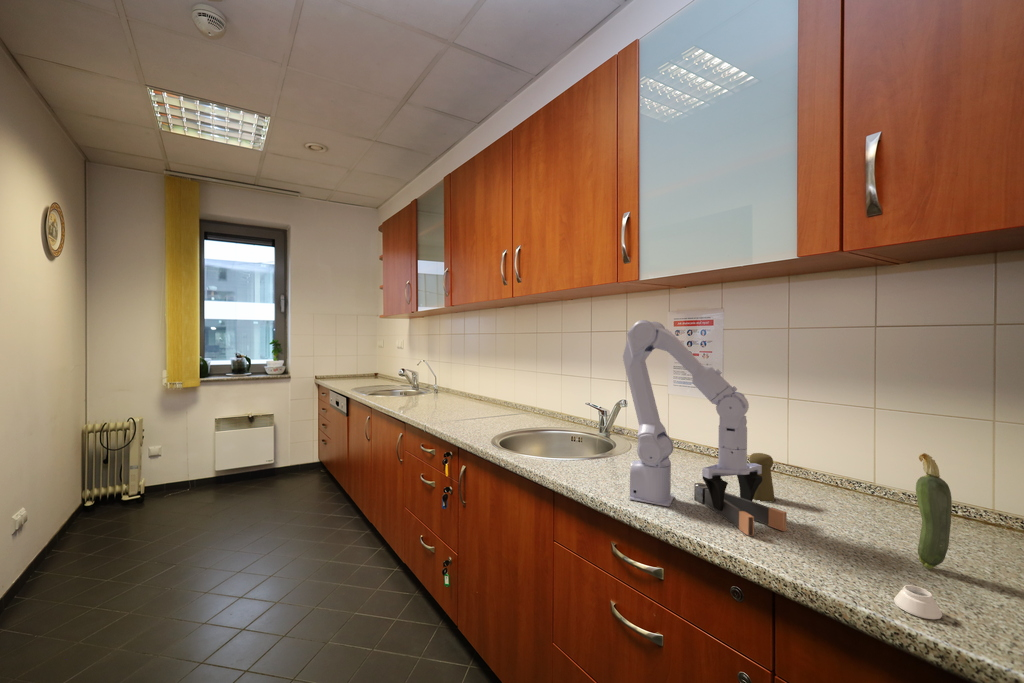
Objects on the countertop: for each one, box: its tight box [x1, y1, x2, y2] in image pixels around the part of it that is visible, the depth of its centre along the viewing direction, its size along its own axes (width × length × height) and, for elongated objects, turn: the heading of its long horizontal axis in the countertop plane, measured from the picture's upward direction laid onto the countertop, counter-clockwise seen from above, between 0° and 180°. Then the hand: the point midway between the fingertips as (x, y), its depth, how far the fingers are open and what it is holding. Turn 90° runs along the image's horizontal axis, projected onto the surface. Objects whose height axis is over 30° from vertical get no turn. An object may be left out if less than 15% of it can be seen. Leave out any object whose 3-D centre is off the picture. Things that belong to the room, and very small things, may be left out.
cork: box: [748, 452, 775, 502], centre depth 109 cm, size 6×6×11 cm
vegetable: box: [915, 452, 953, 570], centre depth 74 cm, size 4×4×20 cm
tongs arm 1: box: [704, 489, 755, 536], centre depth 95 cm, size 17×1×4 cm, turn 4°
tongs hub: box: [693, 482, 708, 505], centre depth 106 cm, size 4×3×4 cm
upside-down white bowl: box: [893, 584, 943, 620], centre depth 63 cm, size 5×3×5 cm
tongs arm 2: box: [724, 491, 788, 532], centre depth 97 cm, size 17×1×4 cm, turn 28°
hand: (732, 507), depth 97 cm, fingers open, 7 cm apart
